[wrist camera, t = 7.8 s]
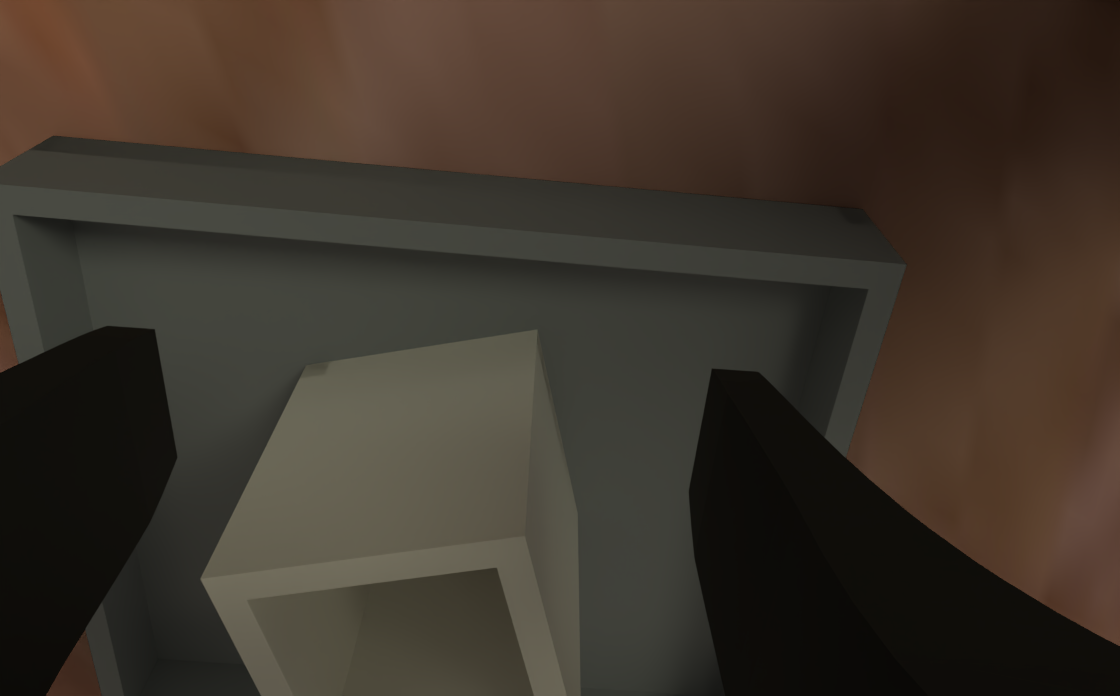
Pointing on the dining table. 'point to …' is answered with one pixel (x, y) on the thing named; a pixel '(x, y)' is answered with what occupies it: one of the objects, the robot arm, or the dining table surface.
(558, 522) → the open box
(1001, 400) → the dining table surface
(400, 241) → the tray
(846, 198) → the dining table surface
